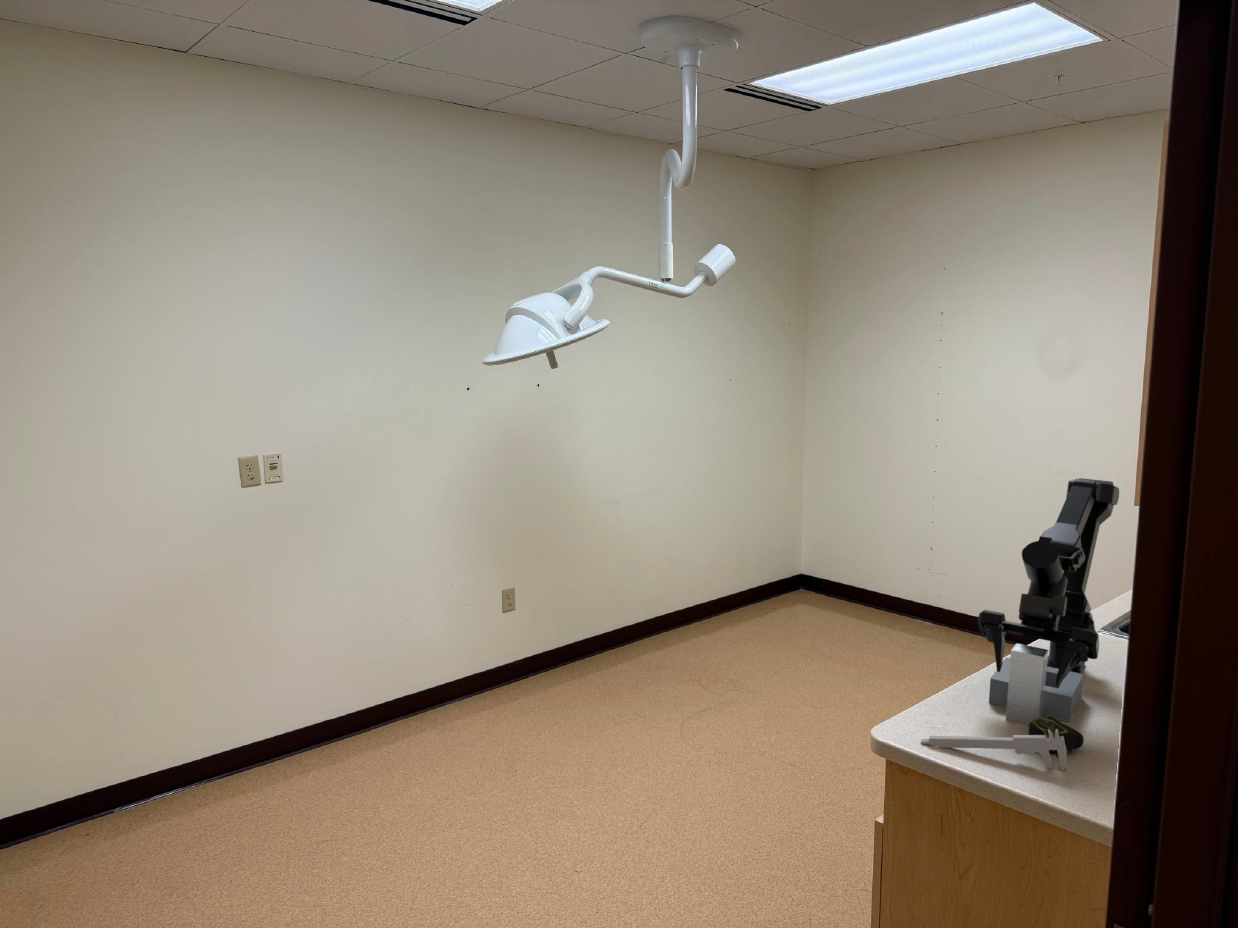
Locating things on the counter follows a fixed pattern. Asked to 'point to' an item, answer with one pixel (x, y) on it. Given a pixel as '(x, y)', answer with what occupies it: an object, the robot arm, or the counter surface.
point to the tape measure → (1070, 735)
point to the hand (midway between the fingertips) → (1027, 677)
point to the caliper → (1008, 744)
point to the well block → (1056, 697)
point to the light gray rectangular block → (1026, 683)
